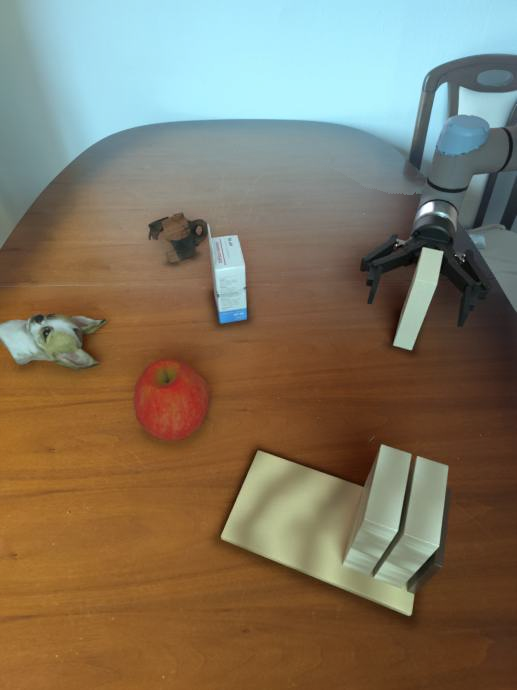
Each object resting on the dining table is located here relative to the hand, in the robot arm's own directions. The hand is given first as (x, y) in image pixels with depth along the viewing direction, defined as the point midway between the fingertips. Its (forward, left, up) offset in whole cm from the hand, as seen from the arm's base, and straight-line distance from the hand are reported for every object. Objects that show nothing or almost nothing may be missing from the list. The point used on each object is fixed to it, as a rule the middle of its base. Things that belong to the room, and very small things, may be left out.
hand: (415, 309), depth 68 cm
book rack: (+4, +33, -8) cm, 34 cm away
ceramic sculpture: (+51, +22, -8) cm, 56 cm away
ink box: (+30, +2, -8) cm, 31 cm away
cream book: (0, -3, -8) cm, 8 cm away
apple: (+28, +26, -8) cm, 39 cm away
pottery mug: (+46, -10, -8) cm, 48 cm away
